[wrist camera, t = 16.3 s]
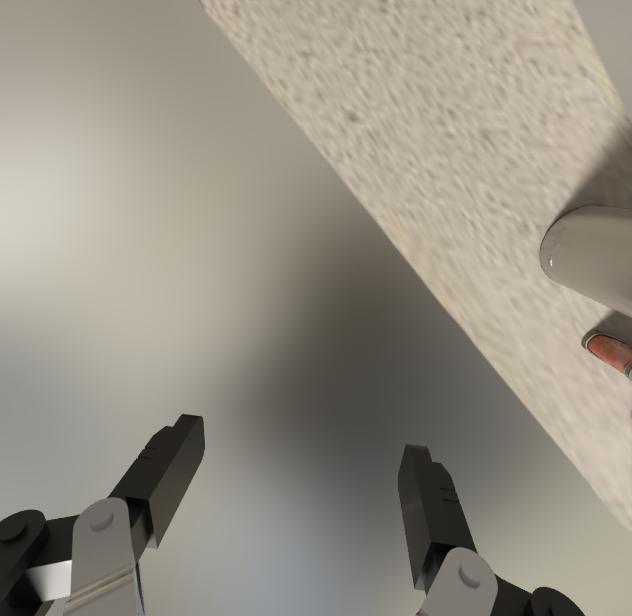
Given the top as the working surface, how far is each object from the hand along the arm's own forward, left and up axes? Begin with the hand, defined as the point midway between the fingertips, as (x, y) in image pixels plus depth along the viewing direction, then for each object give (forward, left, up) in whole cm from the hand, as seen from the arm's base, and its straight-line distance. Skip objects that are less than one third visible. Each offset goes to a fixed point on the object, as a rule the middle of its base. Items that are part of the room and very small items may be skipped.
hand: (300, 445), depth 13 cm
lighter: (-39, +8, -29) cm, 49 cm away
